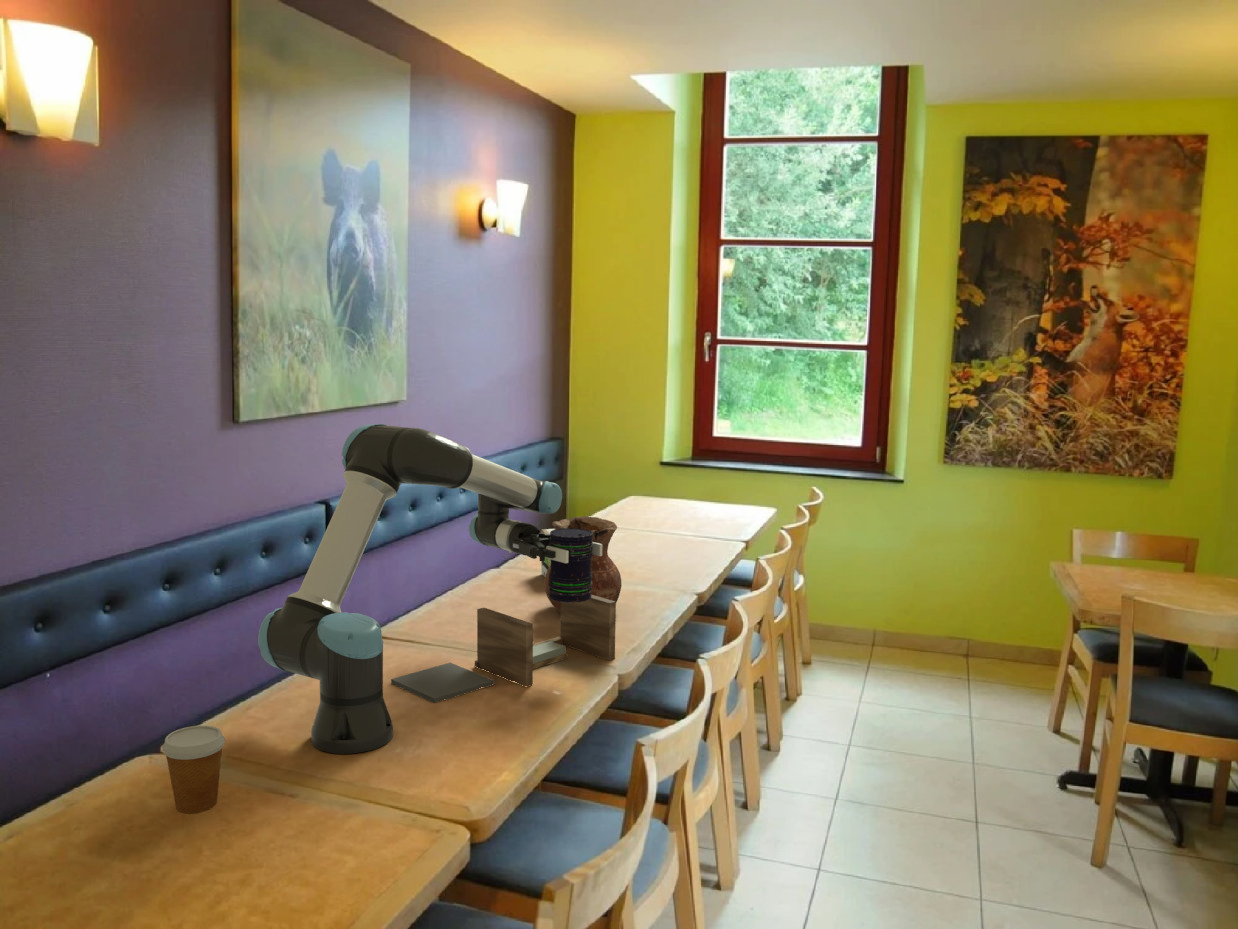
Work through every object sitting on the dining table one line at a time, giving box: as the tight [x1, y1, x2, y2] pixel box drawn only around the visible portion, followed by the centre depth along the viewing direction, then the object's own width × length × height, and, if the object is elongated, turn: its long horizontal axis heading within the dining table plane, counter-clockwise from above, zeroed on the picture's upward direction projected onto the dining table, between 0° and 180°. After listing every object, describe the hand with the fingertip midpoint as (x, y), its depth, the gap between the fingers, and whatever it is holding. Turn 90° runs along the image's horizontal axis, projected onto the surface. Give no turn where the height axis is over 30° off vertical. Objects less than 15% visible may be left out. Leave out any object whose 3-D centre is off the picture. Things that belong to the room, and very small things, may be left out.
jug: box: [544, 516, 622, 613], centre depth 284 cm, size 22×21×25 cm
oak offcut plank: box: [533, 652, 568, 670], centre depth 245 cm, size 12×6×2 cm, turn 137°
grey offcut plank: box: [533, 641, 567, 664], centre depth 245 cm, size 11×5×2 cm, turn 139°
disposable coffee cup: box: [161, 725, 226, 815], centre depth 170 cm, size 10×10×12 cm
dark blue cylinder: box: [549, 528, 593, 603], centre depth 234 cm, size 10×10×15 cm
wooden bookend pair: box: [474, 595, 617, 687], centre depth 242 cm, size 28×18×14 cm, turn 136°
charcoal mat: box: [390, 662, 495, 704], centre depth 228 cm, size 16×16×1 cm
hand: (584, 553), depth 231 cm, fingers closed on dark blue cylinder, 10 cm apart
